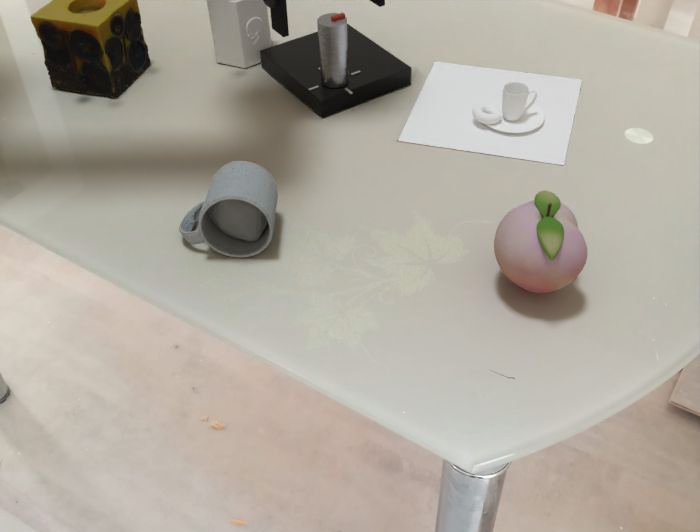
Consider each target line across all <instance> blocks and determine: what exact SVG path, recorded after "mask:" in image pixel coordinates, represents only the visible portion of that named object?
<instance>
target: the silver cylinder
mask: <svg viewBox="0 0 700 532" xmlns="http://www.w3.org/2000/svg"><path fill="white" fill-rule="evenodd" d="M316 24H317V32H318V42H319V57H320V73H321V83H322V84H323V85H324V86H326V87H329V88H339V87H343V86H345V85H346V84H347V83H348V82H349V67H348V38H347V24H348V18H347V17H346V14H345V12H340V13H338V12H329V13H328V12H327V13H324V14H321V15H320V16H318V17H317V20H316Z"/></svg>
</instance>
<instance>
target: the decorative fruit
mask: <svg viewBox="0 0 700 532" xmlns="http://www.w3.org/2000/svg"><path fill="white" fill-rule="evenodd" d="M493 249H494V250H493V252H494V256H495V259H496V262H497V265H498V267H499V269H500V271H501V272H502V274H503V275H504V276H505V277H506V278H507V279H508V280H510V282H512V283H513V284H515V285H516V286H518V287H519V288H521V289H523V290H525V291H528V292H532V293H536V294H544V293H551V292H552V293H553V292H556V291H559V290H561V289H563V288H565V287H567V286H569V284H571V283H572V282H574V280H576V279H577V278H578V276H579V275H580V274H581V273H582V271H583V270H584V267H585V265H586V264H587V261H588V260H587V259H588V244H587V243H586V239H585V237H584V234H583V233H582V232H581V230H580V229H579V225H578V220H577V218H576V216H575V214H574V212H573V211H572V210H571V209H570V207H568V206H567V205H565V204H564V203H562V202H561V199H560V198H559V197H558V195H556V194H555V193H554V192H552V191H549V190H545V189H544V190H541V191H539V192H537V193H536V194H535V196H534V199H533V200H530V201H528V202H525V203H522V204H520V205H517V206H515V207H514V208H512V209H511V210H509V211H507V213H505V215H504V216H503V217H502V219H501V220H500V222H499V223H498V225H497V228H496V231H495V234H494V240H493Z"/></svg>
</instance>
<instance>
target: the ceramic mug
mask: <svg viewBox="0 0 700 532" xmlns="http://www.w3.org/2000/svg"><path fill="white" fill-rule="evenodd" d="M208 186H209V187H208V189H207V193H206V196H205V198H204V201H201V202H200V203H197V204H195V205H194V206H193V207H192V208H191V209H190V210H188V212H187V213H186V214H185V215H184V217H183V218H182V220H181V222H180V224H179V226H178V230H179V231H178V232H179V233H180V235H181V236H182V237H183V238H184V239H185V241H186V242H187V243H188V244H192V245H199V244H204V243H205V244H206V245H207V246H208V247H209V248H211V249H212V250H214V251H215V252H217V253H219V254H220V255H224V256H226V257H231V258H240V259H241V258H250V257H254V256H256V255H258V254H260V253H262V252H263V251H265V249H266V248H267V247H268V246H269V245H270V244H271V242H272V239H273V236H274V229H275V223H276V215H277V213H276V212H277V207H278V197H279V195H278V185H277V183H276V181H275V178H274V176H273V175H272V173H271V172H270V171H269V170H268V169H267V168H265V167H264V166H262V164H260V163H258V162H255V161H252V160H247V159H235V160H232V161H229V162H226V163H225V164H224V165H222V166H221V167H220V168H218V170H217V171H216V173H214V175H213V177H212V178H211V181H210V183H209V185H208ZM196 224H197V225H198V229H197V230H193V229H194V226H195V225H196Z"/></svg>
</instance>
